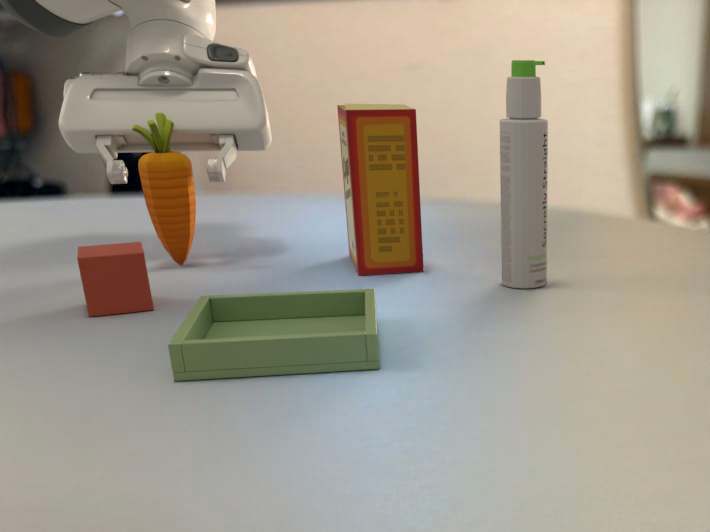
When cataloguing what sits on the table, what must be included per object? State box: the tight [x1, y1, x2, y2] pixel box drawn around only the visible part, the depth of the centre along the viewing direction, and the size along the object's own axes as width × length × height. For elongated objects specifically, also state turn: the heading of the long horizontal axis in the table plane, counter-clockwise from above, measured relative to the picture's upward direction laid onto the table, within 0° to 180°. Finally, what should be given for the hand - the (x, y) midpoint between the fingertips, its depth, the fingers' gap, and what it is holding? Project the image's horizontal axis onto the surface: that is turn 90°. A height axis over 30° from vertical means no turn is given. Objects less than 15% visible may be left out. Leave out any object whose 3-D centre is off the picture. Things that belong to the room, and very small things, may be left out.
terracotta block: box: [76, 241, 155, 318], centre depth 73 cm, size 5×5×5 cm
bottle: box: [499, 59, 549, 290], centre depth 78 cm, size 4×4×20 cm
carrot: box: [132, 113, 197, 266], centre depth 86 cm, size 5×5×15 cm
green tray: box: [167, 288, 380, 382], centre depth 63 cm, size 14×13×3 cm
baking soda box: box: [336, 102, 424, 276], centre depth 87 cm, size 10×6×16 cm
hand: (167, 179), depth 85 cm, fingers open, 8 cm apart
